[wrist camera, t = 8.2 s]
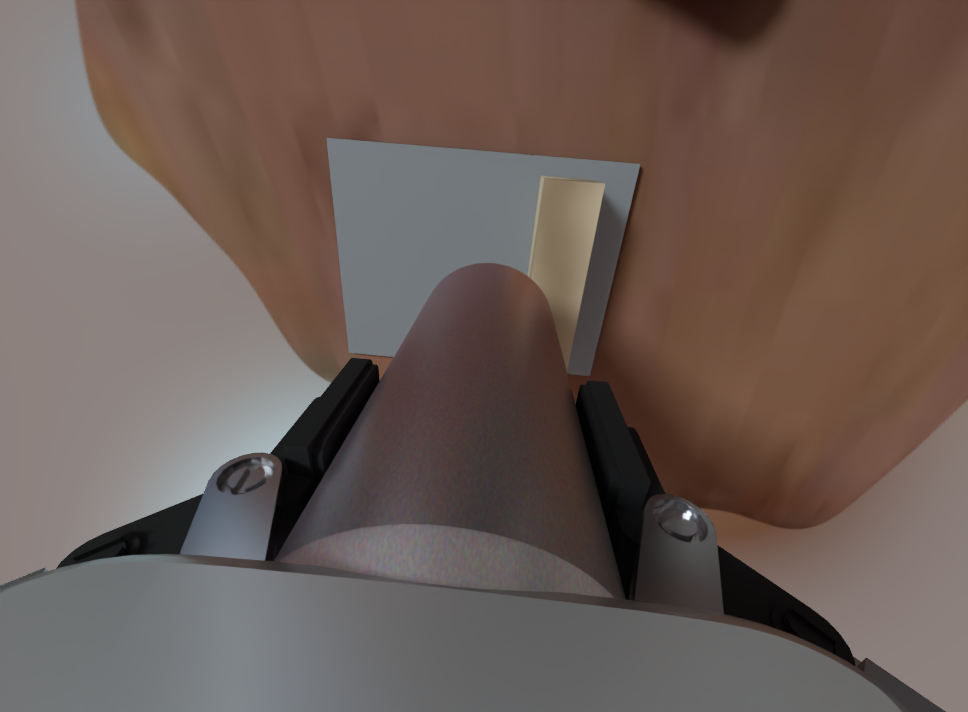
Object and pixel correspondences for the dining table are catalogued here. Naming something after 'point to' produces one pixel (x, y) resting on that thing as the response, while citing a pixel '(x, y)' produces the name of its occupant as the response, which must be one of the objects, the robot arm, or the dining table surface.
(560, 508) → the beverage can
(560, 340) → the block
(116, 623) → the robot arm
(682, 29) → the dining table surface
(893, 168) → the dining table surface
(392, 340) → the mat
